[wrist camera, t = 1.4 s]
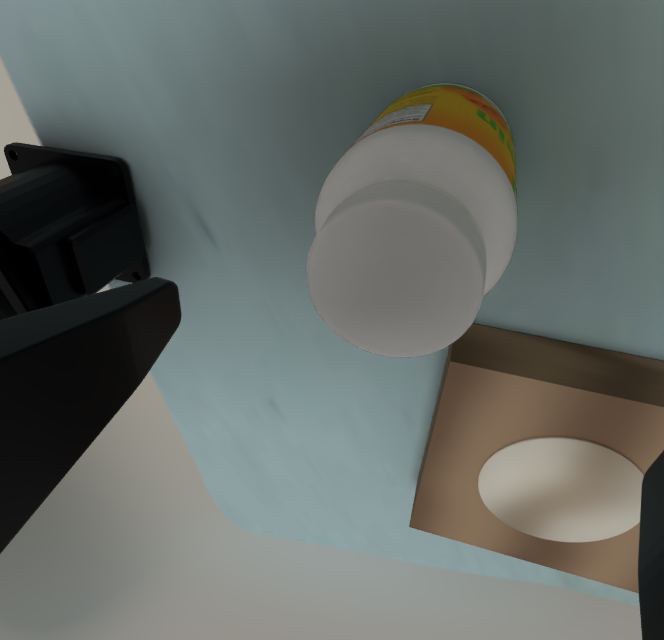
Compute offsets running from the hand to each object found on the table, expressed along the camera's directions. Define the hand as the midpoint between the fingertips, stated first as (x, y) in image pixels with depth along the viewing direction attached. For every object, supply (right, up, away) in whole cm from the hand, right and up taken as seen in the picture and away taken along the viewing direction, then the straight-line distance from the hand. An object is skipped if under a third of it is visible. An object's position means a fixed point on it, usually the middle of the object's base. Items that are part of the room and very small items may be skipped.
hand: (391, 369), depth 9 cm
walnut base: (+10, -5, +15) cm, 19 cm away
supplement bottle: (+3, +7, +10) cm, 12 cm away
